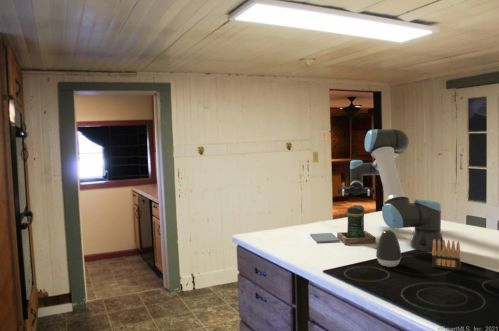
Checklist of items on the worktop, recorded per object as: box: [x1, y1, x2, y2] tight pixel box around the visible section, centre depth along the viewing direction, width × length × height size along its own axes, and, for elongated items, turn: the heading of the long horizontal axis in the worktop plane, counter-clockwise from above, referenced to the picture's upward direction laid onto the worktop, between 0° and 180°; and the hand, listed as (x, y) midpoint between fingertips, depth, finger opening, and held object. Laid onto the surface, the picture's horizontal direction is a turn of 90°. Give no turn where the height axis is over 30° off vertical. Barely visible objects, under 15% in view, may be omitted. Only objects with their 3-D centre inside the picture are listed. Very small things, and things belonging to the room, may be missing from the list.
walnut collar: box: [336, 230, 377, 246], centre depth 217 cm, size 14×16×3 cm
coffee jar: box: [346, 204, 365, 238], centre depth 216 cm, size 10×8×19 cm
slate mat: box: [310, 232, 341, 244], centre depth 223 cm, size 16×12×1 cm
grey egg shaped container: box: [375, 229, 402, 268], centre depth 176 cm, size 10×10×15 cm
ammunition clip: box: [431, 239, 462, 269], centre depth 169 cm, size 11×2×12 cm, turn 59°
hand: (355, 193), depth 224 cm, fingers open, 13 cm apart
